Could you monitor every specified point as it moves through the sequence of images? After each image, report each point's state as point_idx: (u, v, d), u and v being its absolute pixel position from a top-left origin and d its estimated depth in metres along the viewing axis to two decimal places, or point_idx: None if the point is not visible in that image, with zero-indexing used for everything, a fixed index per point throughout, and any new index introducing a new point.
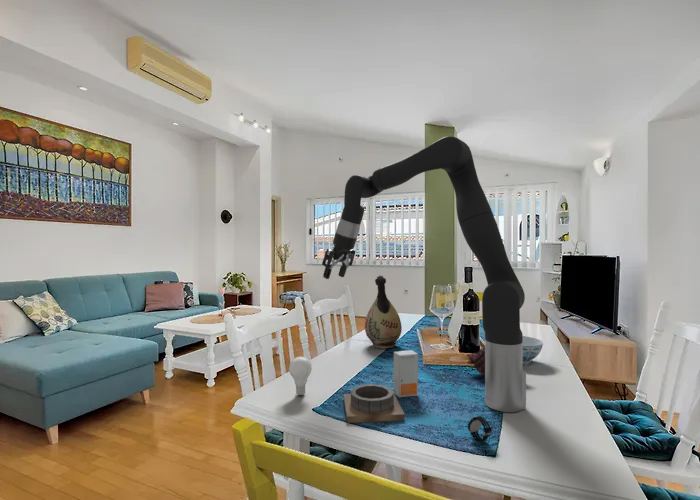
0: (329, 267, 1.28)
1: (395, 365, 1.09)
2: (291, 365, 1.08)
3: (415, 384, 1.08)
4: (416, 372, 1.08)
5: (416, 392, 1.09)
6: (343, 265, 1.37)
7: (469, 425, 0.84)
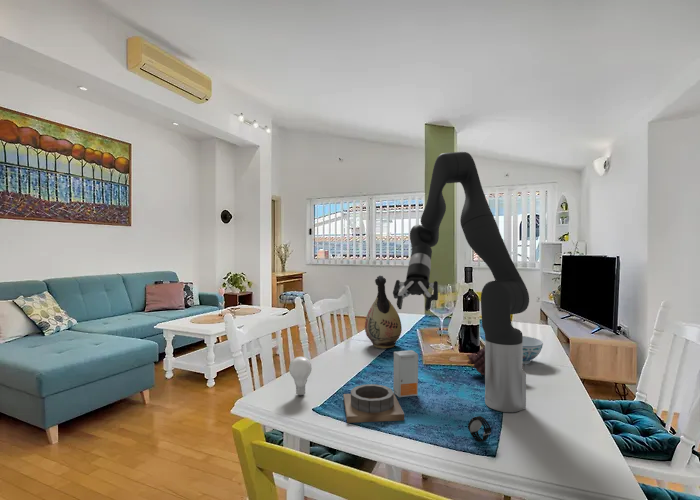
0: (397, 294, 1.24)
1: (395, 365, 1.09)
2: (291, 365, 1.08)
3: (415, 384, 1.08)
4: (416, 372, 1.08)
5: (416, 392, 1.09)
6: None
7: (469, 425, 0.84)
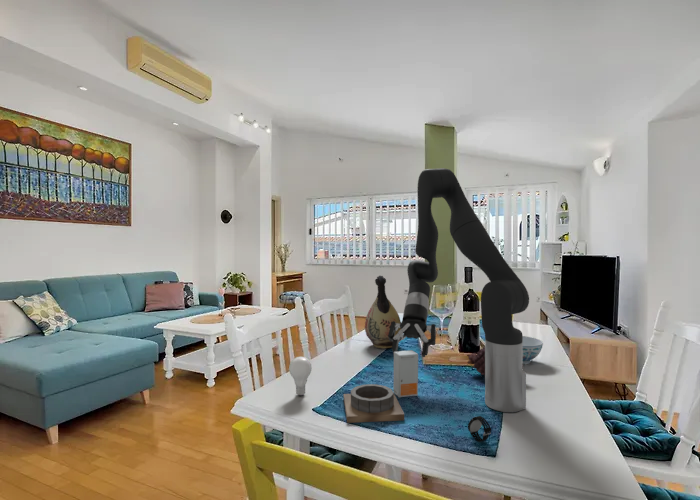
0: (393, 338, 1.18)
1: (395, 365, 1.09)
2: (291, 365, 1.08)
3: (415, 384, 1.08)
4: (416, 372, 1.08)
5: (416, 392, 1.09)
6: None
7: (469, 425, 0.84)
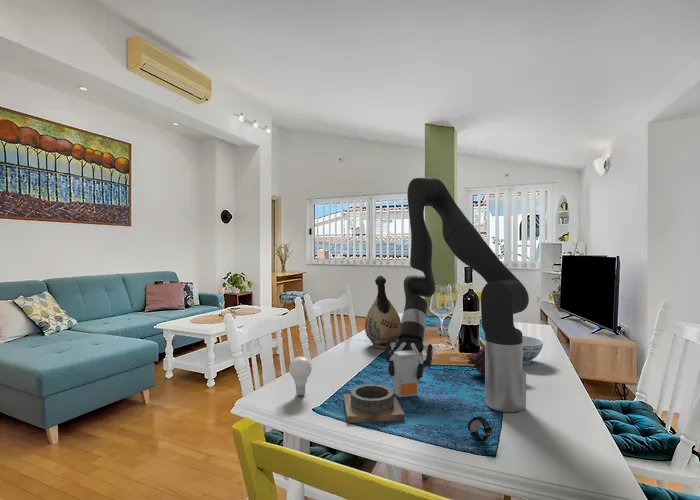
0: (389, 359, 1.12)
1: (395, 365, 1.09)
2: (291, 365, 1.08)
3: (415, 384, 1.08)
4: (416, 372, 1.08)
5: (416, 392, 1.09)
6: None
7: (469, 425, 0.84)
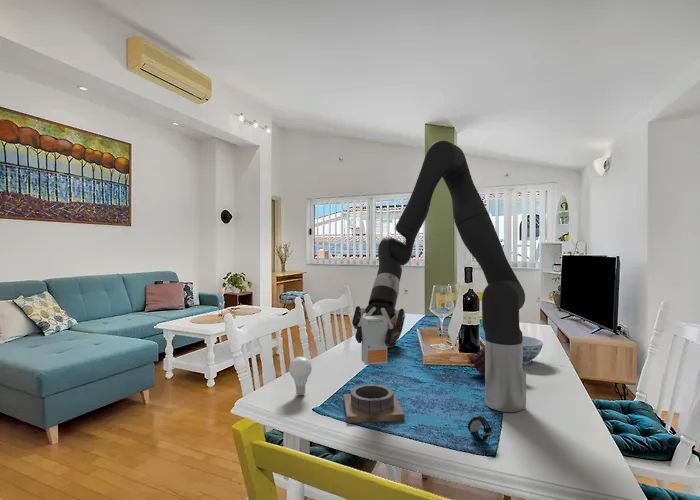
0: (357, 325, 1.04)
1: (363, 331, 1.01)
2: (291, 365, 1.08)
3: (384, 351, 1.00)
4: None
5: (385, 359, 1.00)
6: None
7: (469, 425, 0.84)
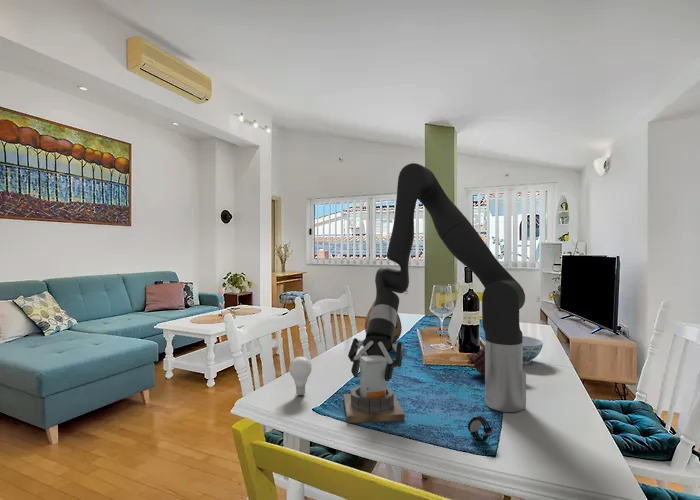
0: (353, 358, 1.03)
1: (361, 372, 1.00)
2: (291, 365, 1.08)
3: (383, 392, 0.99)
4: (384, 379, 0.99)
5: None
6: None
7: (469, 425, 0.84)
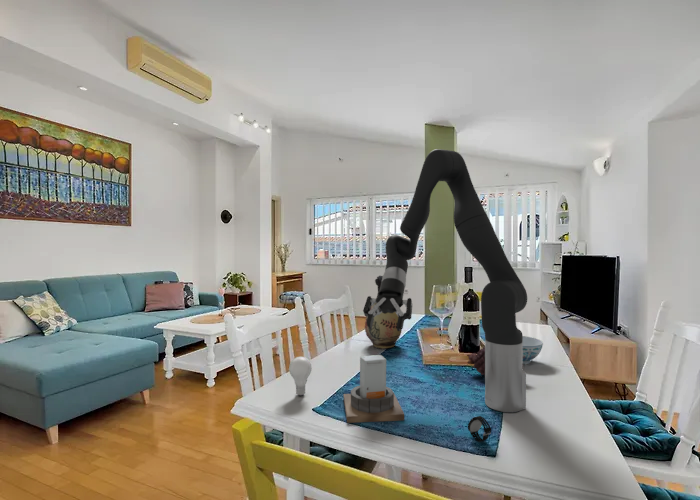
0: (368, 312, 1.15)
1: (361, 372, 1.00)
2: (291, 365, 1.08)
3: (383, 392, 0.99)
4: (384, 379, 0.99)
5: None
6: None
7: (469, 425, 0.84)
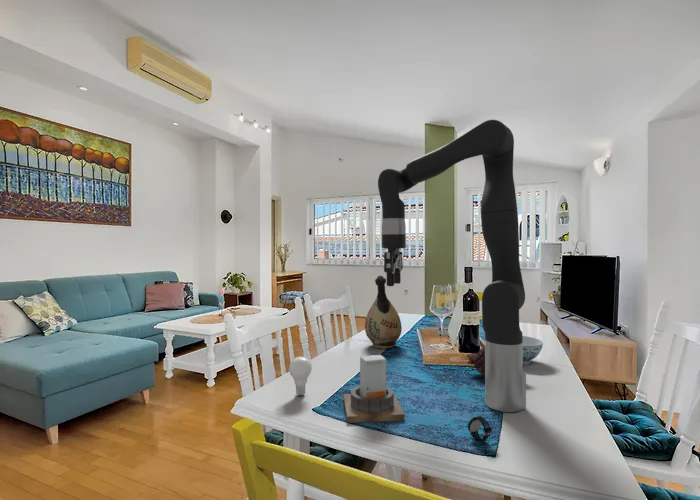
0: (392, 272, 1.16)
1: (361, 372, 1.00)
2: (291, 365, 1.08)
3: (383, 392, 0.99)
4: (384, 379, 0.99)
5: None
6: (396, 270, 1.25)
7: (469, 425, 0.84)
